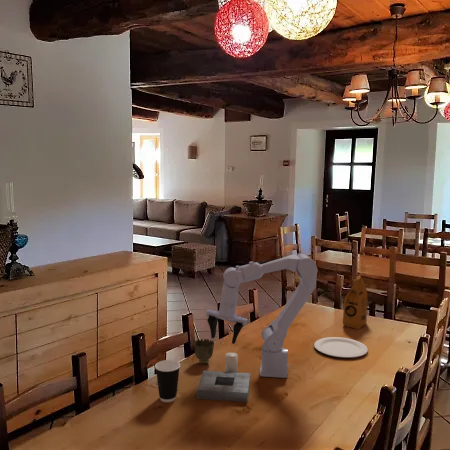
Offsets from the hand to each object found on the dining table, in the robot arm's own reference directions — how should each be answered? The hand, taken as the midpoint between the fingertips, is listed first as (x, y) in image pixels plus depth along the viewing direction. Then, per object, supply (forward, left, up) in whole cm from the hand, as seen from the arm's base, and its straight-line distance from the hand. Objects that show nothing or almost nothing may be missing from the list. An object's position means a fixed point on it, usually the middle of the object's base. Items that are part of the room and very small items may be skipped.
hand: (223, 340), depth 167 cm
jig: (-2, +12, -12) cm, 17 cm away
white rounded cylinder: (-3, 0, -12) cm, 13 cm away
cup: (+8, -8, -12) cm, 17 cm away
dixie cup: (+15, +20, -12) cm, 28 cm away
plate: (-44, -28, -13) cm, 54 cm away
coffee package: (-54, -59, -12) cm, 81 cm away
